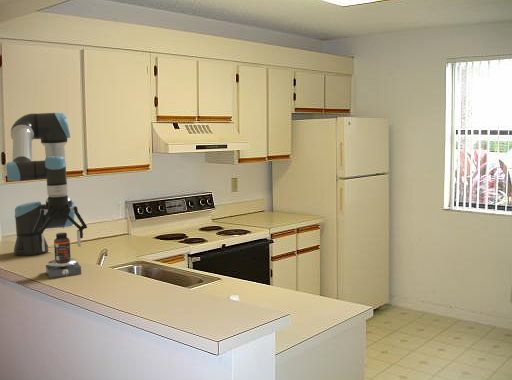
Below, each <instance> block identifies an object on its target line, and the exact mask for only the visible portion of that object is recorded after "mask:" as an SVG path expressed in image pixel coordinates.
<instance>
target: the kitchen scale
mask: <svg viewBox="0 0 512 380" xmlns="http://www.w3.org/2000/svg"><path fill="white" fill-rule="evenodd" d="M45 272H46V274H47V277H48V279H55V278H62V277H69V275H71V276H78V275H82V266H81V265H80V264H79V262H78V259H77V258H74V257H71V260H70V261H68V262H64V263H58V262H56V261H55V259H54V260H50V261H48V262H47V264H45Z"/></svg>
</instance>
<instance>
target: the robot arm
mask: <svg viewBox="0 0 512 380" xmlns="http://www.w3.org/2000/svg"><path fill="white" fill-rule="evenodd" d="M10 137H11V139H12V158H11V159H12V161H9V162H6V165H5V166H6V168H5V171H6V177H7V180H8V181H10V182H11V181H14V182H15V181H16V182H20V181H22V182H23V181H32V180H35V181H36V180H46V191H47V196H48V197H47V198H46V200H45V204H42V202H41V201H32V202H31V201H30V202H26V203H23V204H19V205H17V206H16V207H15V208H14V219H15V231H16V240H15V243H14V247H13V254H14V256H20V257H22V256H24V257H25V256H35V255H41V254H44V253H48V251H49V245H48V242H47V241H46V238H45V235H44V231H45V230H47V229H48V230H49V229H59V228H63V229H64V228H69V227H72V226H73V225H74V226H75V227H76V228H77V229H76V235H77V237H76V238H77V247H78V248H81V247H82V244H81V243H82V242H81V239H83V237H84V233H83V231H84V230H85V229H87V228H88V226H87V224H86V223H85V221H84V219H83V218H82V216H81V214H80V213H79V211H78V206H76V202H74V201H72V198H71V197H70V196H69V194H68V181H67V180H68V178H67V162H66V153H65V152H66V150H65V145H66V144H67V143H68V139H70V138H71V133H70V127H69V124H68V118H67V115H66V114H65V113H63V112H46V113H45V112H43V113H29V114H28V113H27V114H24V115H23V116H21V117H20V118H18V119H16V121H15V122H14V123H13V125H12V126H11V129H10ZM33 140H40V144H42V146H44V151H45V152H44V153H45V154H44V155H45V159H44V160H33V145H32V144H33V143H32V142H33ZM75 216H76V218H77V220H78V221H79V223H80V224H81V225H80V224H79V223H78V222H76V221H75Z"/></svg>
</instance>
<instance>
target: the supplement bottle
mask: <svg viewBox="0 0 512 380" xmlns="http://www.w3.org/2000/svg"><path fill="white" fill-rule="evenodd" d="M55 235H56V237H55V238H54V241H53V245H54V246H53V247H54V260H55V261H56V262H58V263H64V262H68V261H70V260H71V258H72V257H71V241H70V238H69V237H68V234H67V232H57V233H56V234H55Z"/></svg>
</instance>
